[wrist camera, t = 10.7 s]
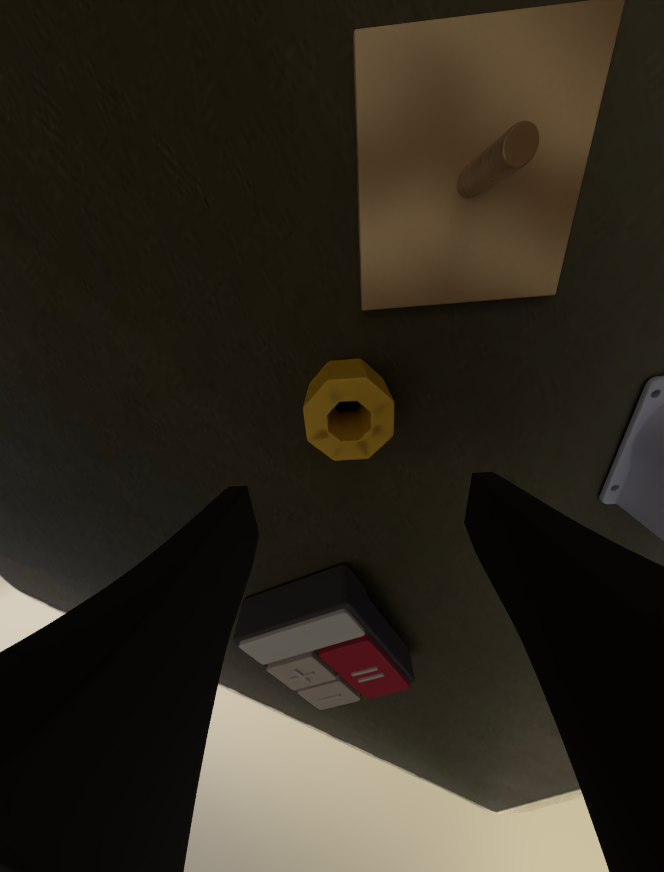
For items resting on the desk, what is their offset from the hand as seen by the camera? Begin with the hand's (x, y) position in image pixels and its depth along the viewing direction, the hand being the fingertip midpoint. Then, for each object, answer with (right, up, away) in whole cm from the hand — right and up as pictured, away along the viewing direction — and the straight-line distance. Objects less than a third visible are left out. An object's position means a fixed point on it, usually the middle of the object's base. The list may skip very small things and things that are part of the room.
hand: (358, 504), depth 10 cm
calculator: (-1, -17, +20) cm, 26 cm away
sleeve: (0, +5, +9) cm, 10 cm away
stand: (+5, +14, +4) cm, 16 cm away
